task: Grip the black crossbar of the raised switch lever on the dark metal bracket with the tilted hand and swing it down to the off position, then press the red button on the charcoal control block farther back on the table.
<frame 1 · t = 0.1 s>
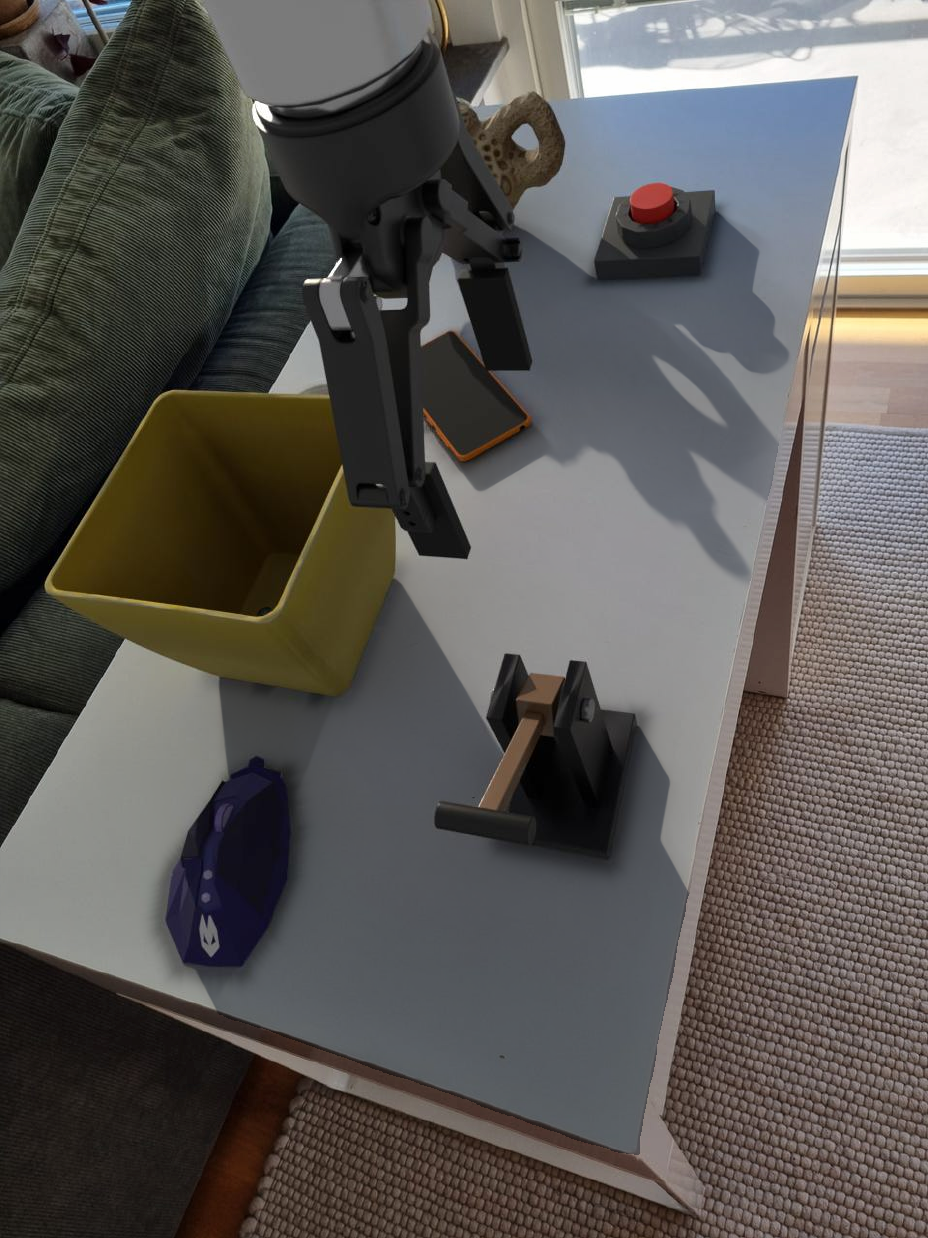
hand: (479, 453, 52), 22 cm above the table, tool pointing down, fingers open, 13 cm apart
smartphone: (458, 397, 88), on the table
switch lever: (517, 755, 52), point 13 cm above the table, hinge at 25.0°
computer mouse: (234, 859, 68), on the table
switch bracket: (573, 780, 64), on the table
flower pot: (307, 624, 78), on the table
teapot: (481, 226, 102), on the table
power button: (652, 203, 89), point 4 cm above the table, slide at 0.1 cm
control block: (656, 244, 93), on the table
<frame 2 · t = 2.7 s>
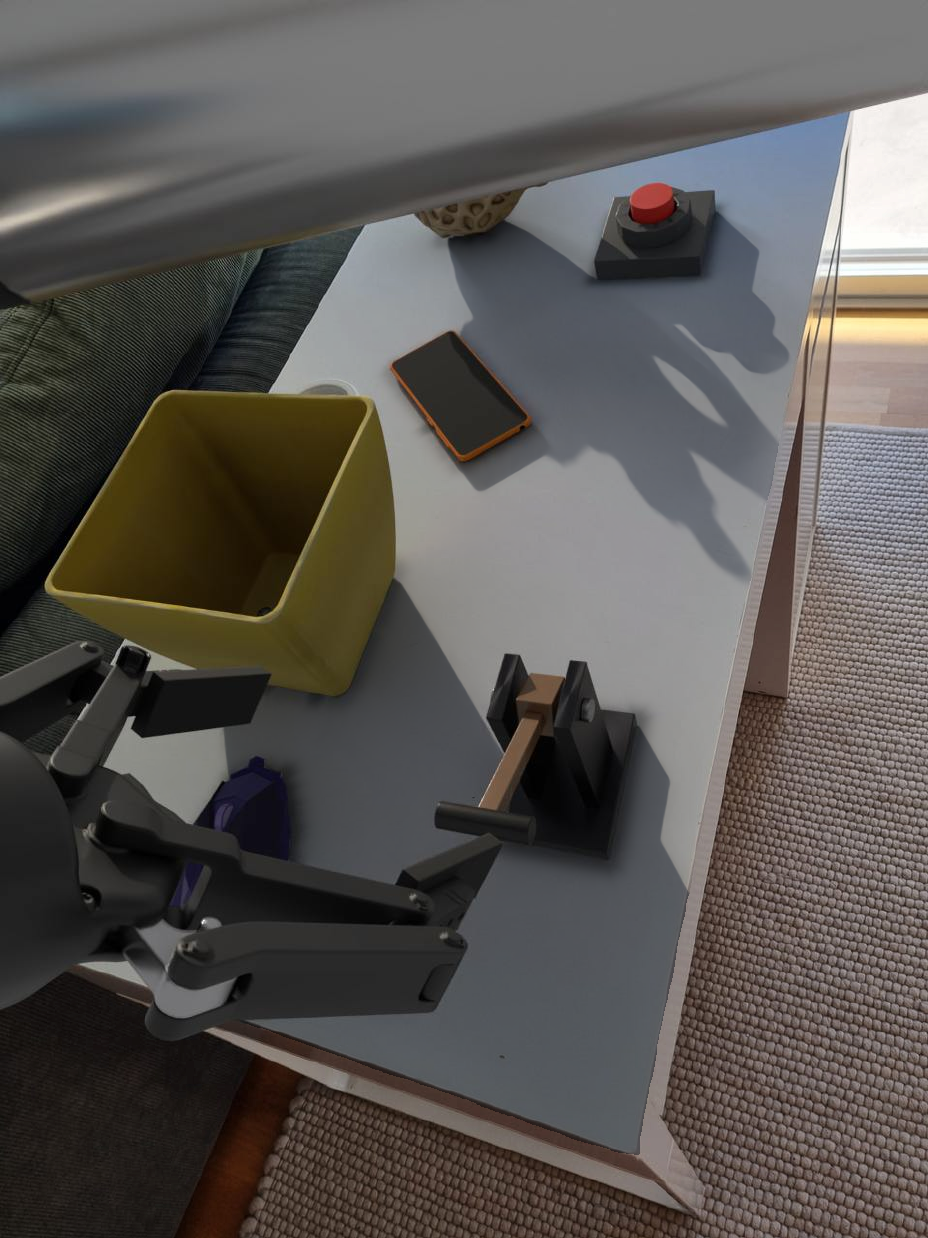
hand: (361, 774, 41), 24 cm above the table, tool tilted 35°, fingers open, 13 cm apart
nothing on the table moved.
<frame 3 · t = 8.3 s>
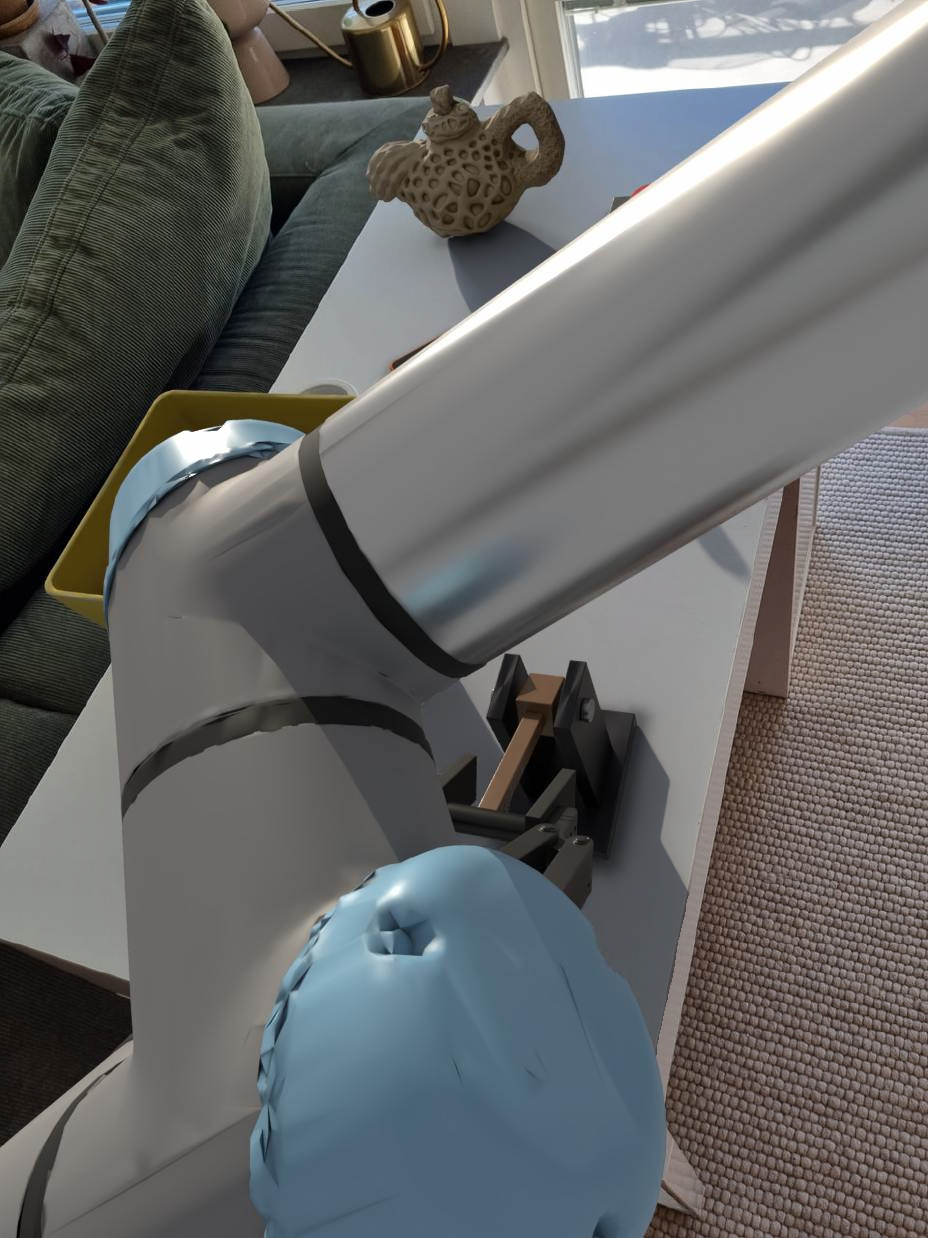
hand: (518, 784, 52), 12 cm above the table, tool tilted 45°, fingers closed on switch lever, 5 cm apart
switch lever: (517, 755, 52), point 13 cm above the table, hinge at 25.0°, touching gripper
everything else where it was.
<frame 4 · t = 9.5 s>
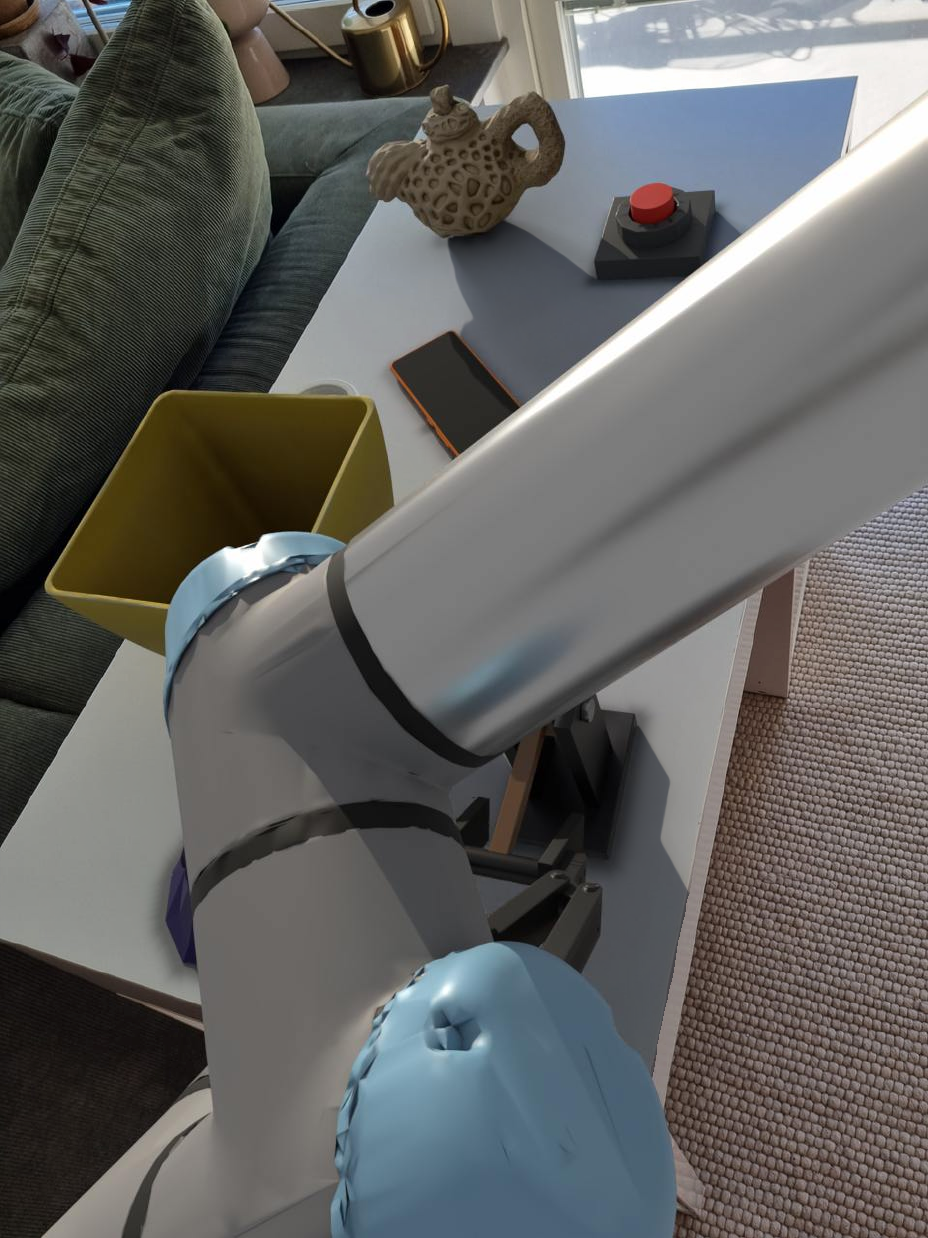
hand: (529, 827, 55), 7 cm above the table, tool tilted 45°, fingers closed on switch lever, 5 cm apart
switch lever: (522, 775, 53), point 11 cm above the table, hinge at 2.6°, touching gripper
everything else where it was.
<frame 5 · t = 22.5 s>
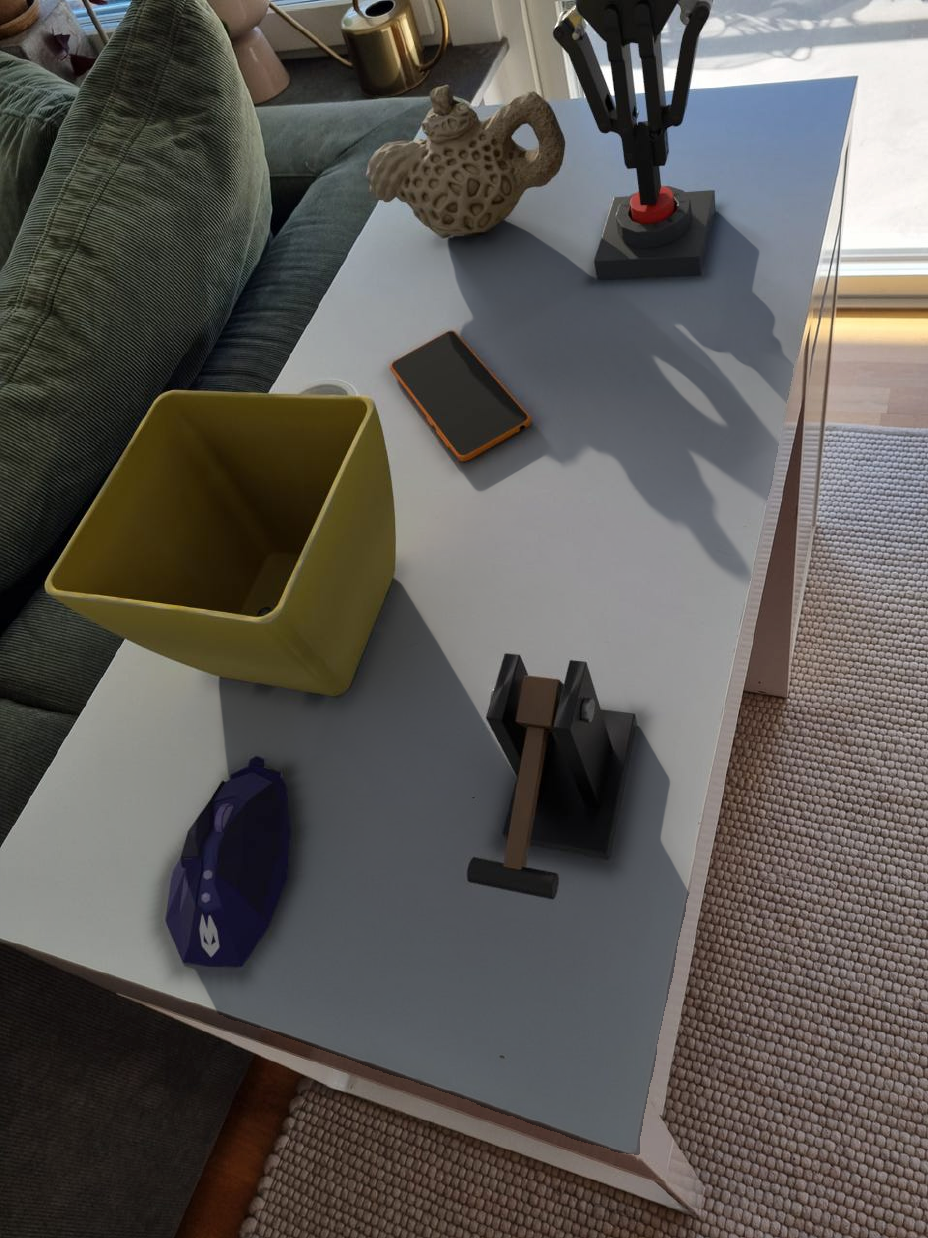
hand: (650, 195, 89), 5 cm above the table, tool pointing down, fingers closed
switch lever: (528, 783, 54), point 10 cm above the table, hinge at -16.4°
power button: (652, 206, 89), point 4 cm above the table, slide at -0.2 cm, touching gripper
everything else where it was.
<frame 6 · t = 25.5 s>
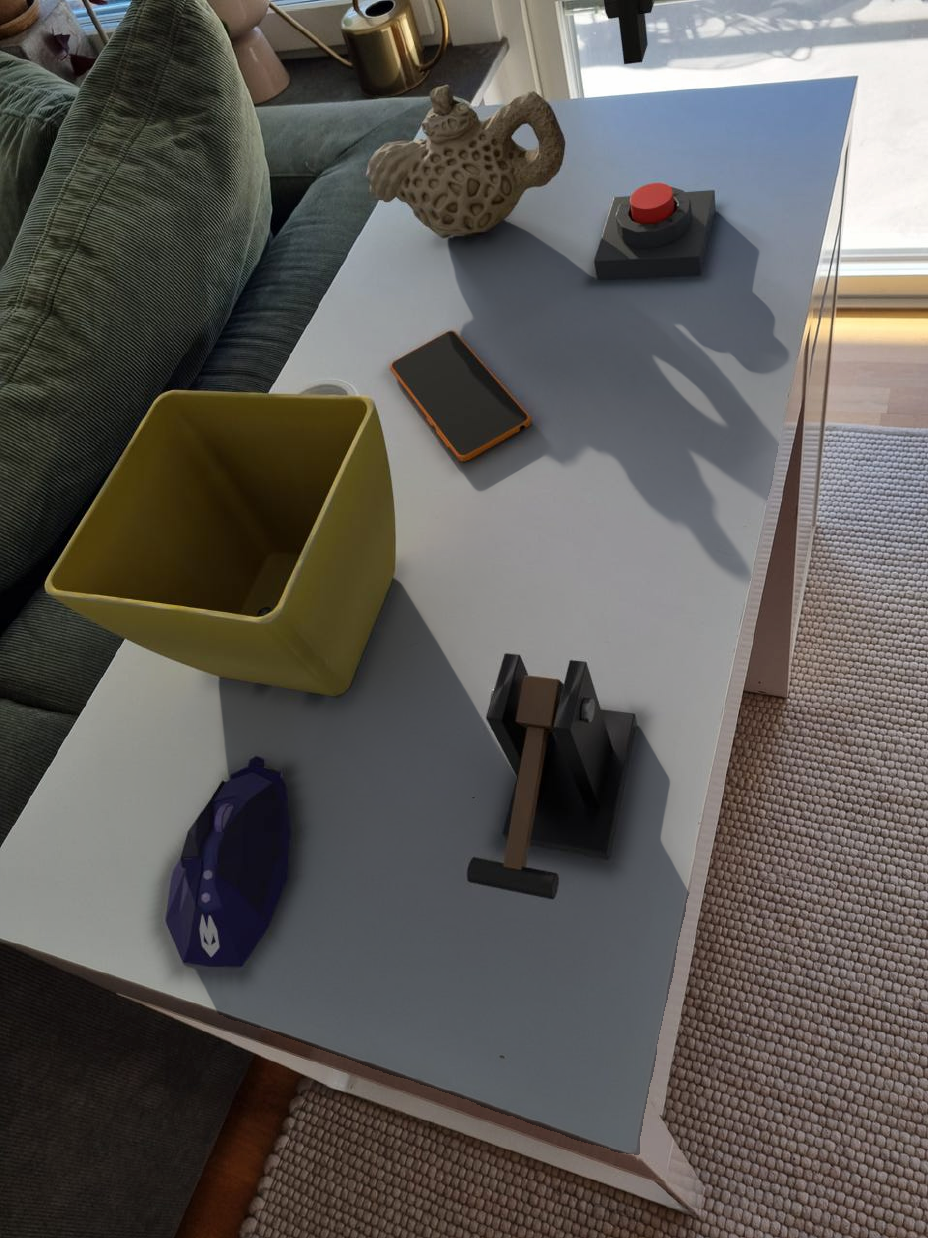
hand: (635, 53, 78), 18 cm above the table, tool pointing down, fingers closed
power button: (652, 203, 89), point 4 cm above the table, slide at 0.1 cm
everything else where it was.
at the end: switch lever at -16° (first picture: +25°); power button pushed in 1.0 cm at the most during the clip, back to where it started at the end; power button slide at 0.1 cm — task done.
